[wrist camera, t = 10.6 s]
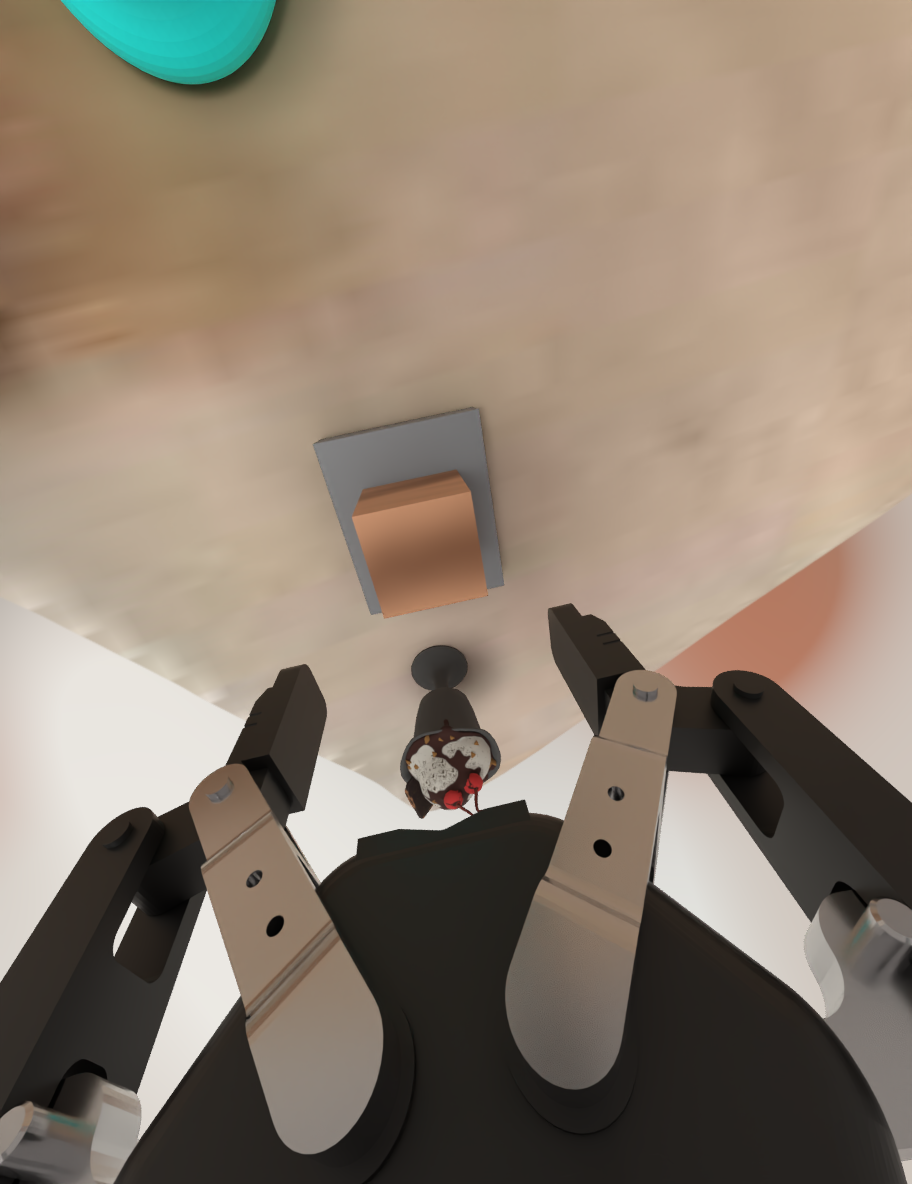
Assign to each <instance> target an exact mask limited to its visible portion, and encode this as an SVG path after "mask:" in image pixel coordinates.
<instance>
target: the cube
mask: <svg viewBox="0 0 912 1184" xmlns="http://www.w3.org/2000/svg"><path fill="white" fill-rule="evenodd" d="M352 520H353V523H354V526H355V529H356V532H357V535H358V538H359V541H360V545H361V548H362V551H363V554H364V557H365V560H366V563H367V566H368V570H369V573H370V576H371V579H372V582H373V585H374V588H375V591H376V594H377V598H378V601H379V604H380V607H381V610H382V613H383V616H384V619H385V618H389V617H394V616H398V615H403V614H407V613H412V612H416V611H421V610H425V609H430V608H434V607H439V606H444V605H448V604H453V603H457V602H462V601H466V600H471V599H475V598H480V597H484V596H488V592H487V586H486V580H485V574H484V568H483V562H482V556H481V550H480V544H479V538H478V532H477V526H476V520H475V514H474V508H473V502H472V496H471V491H470V489H469V488H468V486H467V485H466V483H465V482H464V480H463V479H462V477H461V476H460V474H459V473H458V471H457V469H456V470H451V471H446V472H442V473H437V474H432V475H428V476H423V477H418V478H414V479H409V480H404V481H400V482H395V483H390V484H386V485H381V486H376V487H372V488H367V489H363V490H362V493H361V495H360V498H359V500H358V503H357V505H356V508H355V510H354V513H353V515H352Z"/></svg>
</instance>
